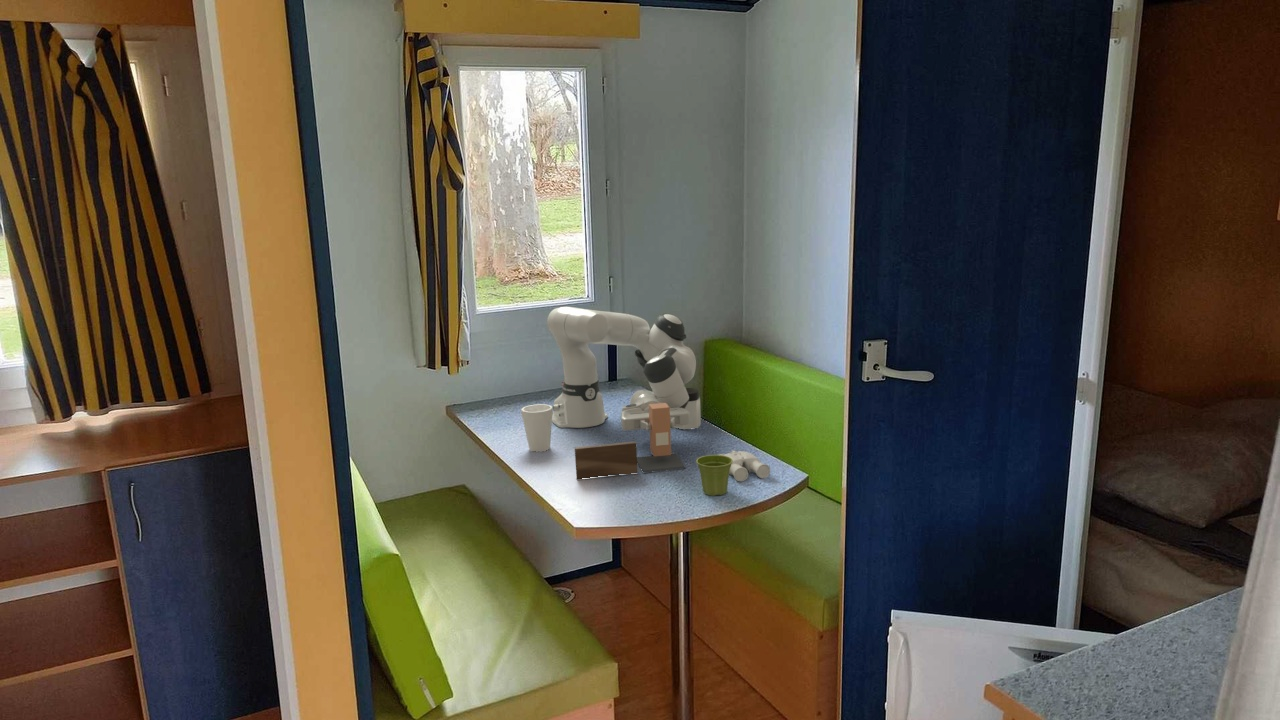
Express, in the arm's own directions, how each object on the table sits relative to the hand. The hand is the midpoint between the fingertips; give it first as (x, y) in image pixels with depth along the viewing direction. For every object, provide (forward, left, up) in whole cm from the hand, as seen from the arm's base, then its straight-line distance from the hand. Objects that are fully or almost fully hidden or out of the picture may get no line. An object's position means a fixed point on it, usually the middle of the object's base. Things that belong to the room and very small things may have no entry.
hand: (660, 426), depth 254 cm
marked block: (-1, 0, -8) cm, 8 cm away
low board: (-2, -17, -11) cm, 21 cm away
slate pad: (-1, 0, -11) cm, 12 cm away
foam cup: (-37, -20, -12) cm, 44 cm away
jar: (-26, +28, -12) cm, 40 cm away
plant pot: (+27, -2, -12) cm, 29 cm away
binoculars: (+19, +14, -12) cm, 26 cm away
